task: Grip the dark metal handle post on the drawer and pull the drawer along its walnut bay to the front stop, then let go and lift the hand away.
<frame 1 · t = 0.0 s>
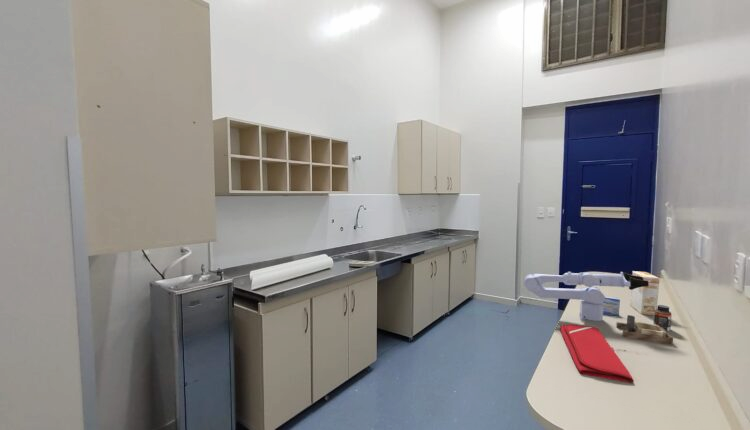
hand: (645, 281, 156), 22 cm above the worktop, tool horizontal, fingers open, 7 cm apart
drawer: (644, 326, 145), point 5 cm above the worktop, slide at 7.0 cm
coffeecake box: (642, 310, 181), on the worktop
dish drying mat: (589, 353, 132), on the worktop
supplement bottle: (661, 331, 154), on the worktop
medicine box: (608, 314, 175), on the worktop
bay: (639, 337, 146), on the worktop
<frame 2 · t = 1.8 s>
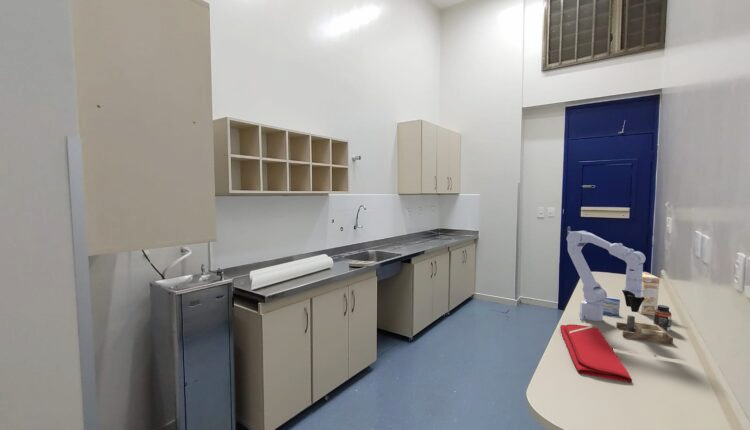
hand: (631, 309, 151), 10 cm above the worktop, tool pointing down, fingers open, 7 cm apart
nothing on the worktop moved.
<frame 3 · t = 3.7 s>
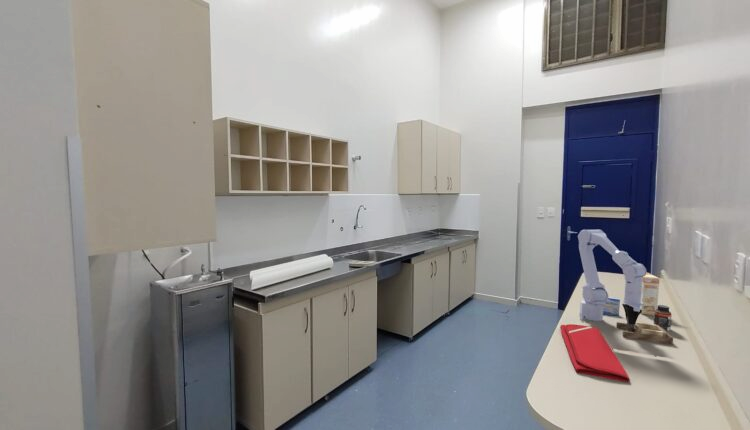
hand: (630, 322, 147), 6 cm above the worktop, tool pointing down, fingers closed on drawer, 3 cm apart
drawer: (644, 326, 145), point 5 cm above the worktop, slide at 7.0 cm, touching gripper
everything else where it was.
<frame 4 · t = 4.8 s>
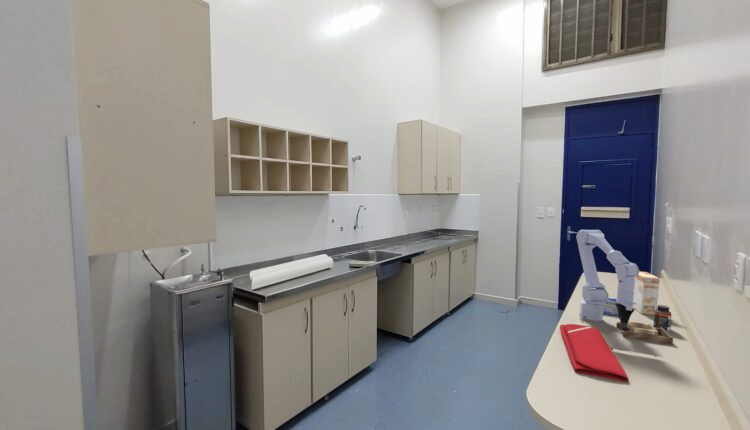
hand: (623, 321, 148), 6 cm above the worktop, tool pointing down, fingers closed on drawer, 3 cm apart
drawer: (636, 325, 146), point 5 cm above the worktop, slide at 4.5 cm, touching gripper
everything else where it was.
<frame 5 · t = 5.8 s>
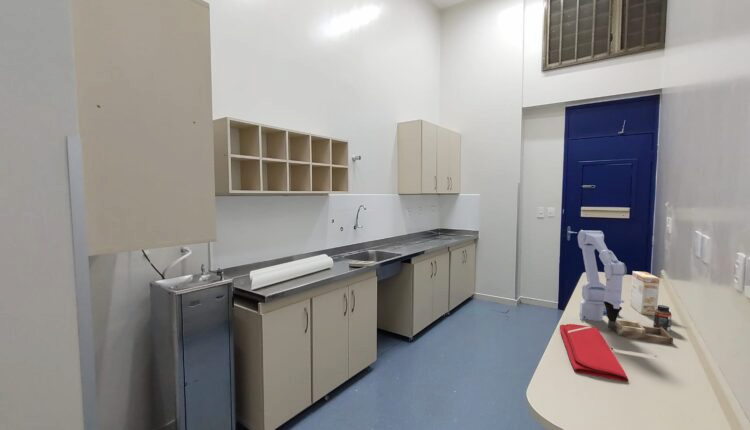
hand: (611, 319, 150), 6 cm above the worktop, tool pointing down, fingers closed on drawer, 3 cm apart
drawer: (624, 324, 148), point 5 cm above the worktop, slide at 0.3 cm, touching gripper
everything else where it was.
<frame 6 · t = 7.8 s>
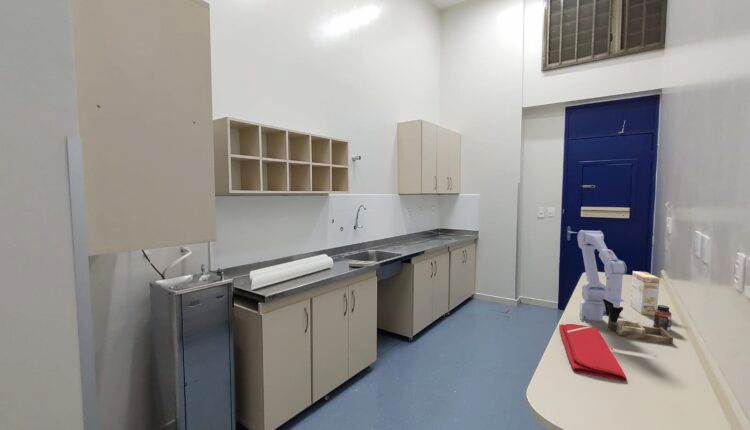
hand: (611, 318, 150), 6 cm above the worktop, tool pointing down, fingers open, 7 cm apart
drawer: (624, 324, 148), point 5 cm above the worktop, slide at 0.3 cm
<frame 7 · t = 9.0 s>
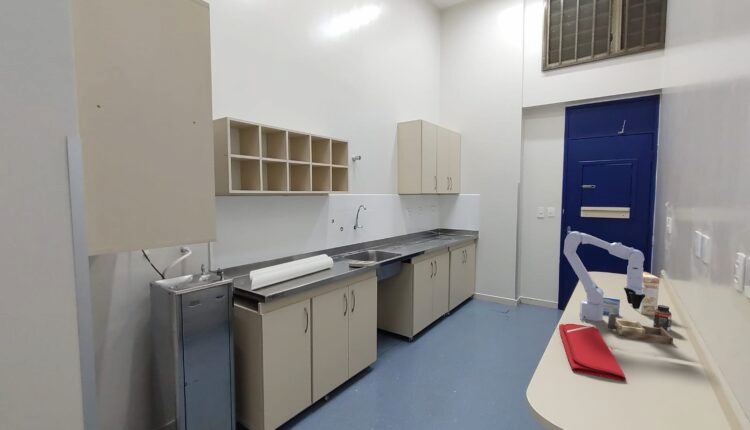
hand: (633, 306, 155), 10 cm above the worktop, tool pointing down, fingers open, 7 cm apart
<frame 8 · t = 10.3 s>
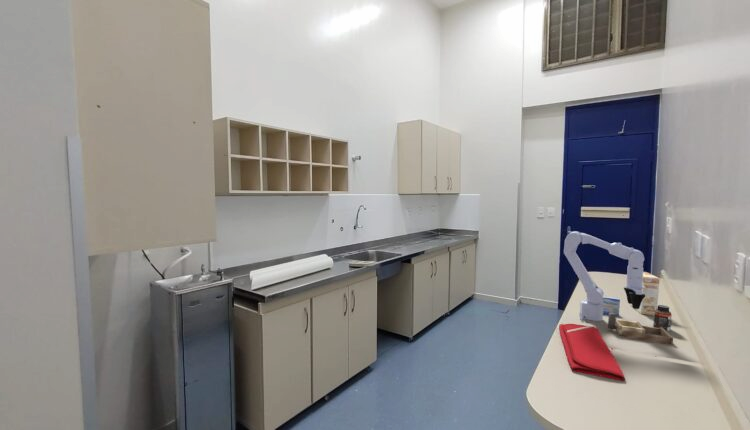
hand: (633, 306, 155), 10 cm above the worktop, tool pointing down, fingers open, 7 cm apart
at the end: drawer slide at 0.3 cm; the gripper is holding nothing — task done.
